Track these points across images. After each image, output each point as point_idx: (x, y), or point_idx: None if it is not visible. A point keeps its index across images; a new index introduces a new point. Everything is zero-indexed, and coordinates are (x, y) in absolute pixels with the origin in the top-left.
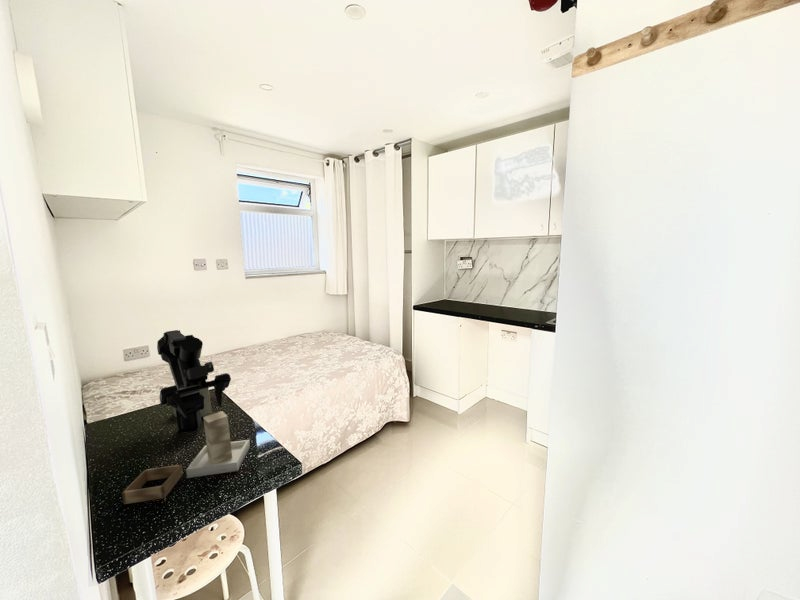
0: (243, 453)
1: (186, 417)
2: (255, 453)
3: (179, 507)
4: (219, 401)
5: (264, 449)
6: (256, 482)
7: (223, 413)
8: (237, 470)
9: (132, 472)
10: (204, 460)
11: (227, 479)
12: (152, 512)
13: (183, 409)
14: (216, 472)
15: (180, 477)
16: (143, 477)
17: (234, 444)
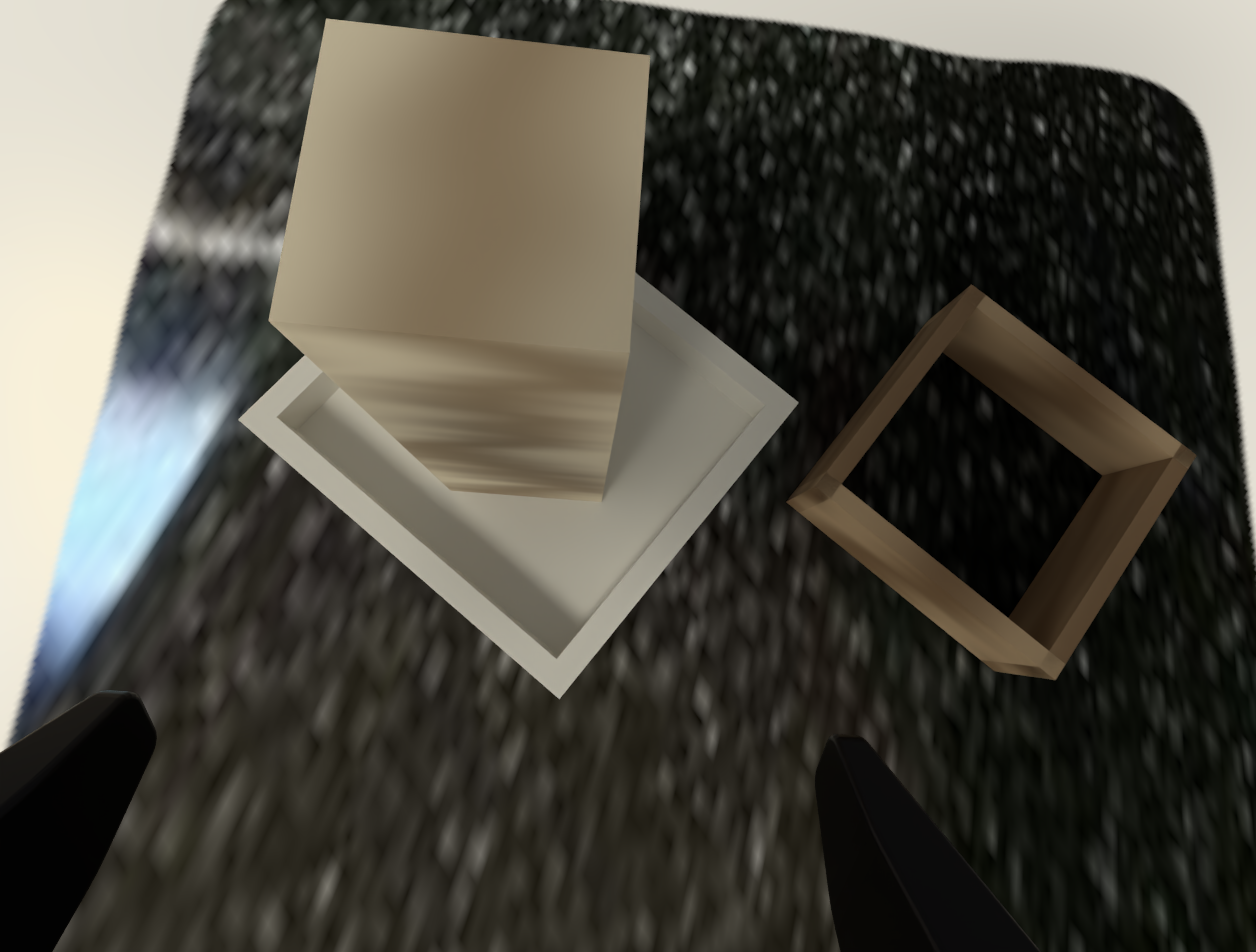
0: None
1: (824, 764)
2: None
3: (878, 163)
4: (18, 780)
5: (230, 300)
6: (494, 6)
7: (315, 176)
8: None
9: (1070, 911)
10: (631, 506)
11: None
12: (995, 245)
13: (951, 890)
14: None
15: (808, 474)
16: (1046, 616)
17: (364, 490)
